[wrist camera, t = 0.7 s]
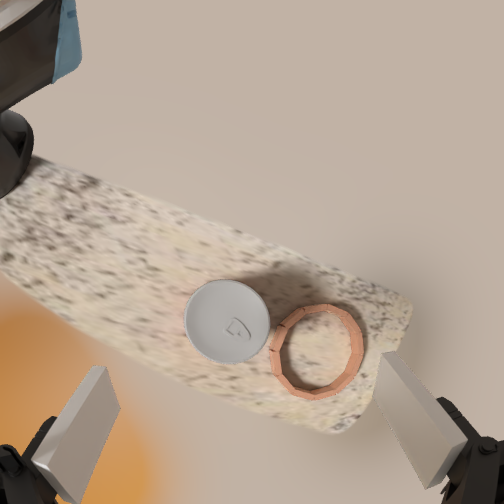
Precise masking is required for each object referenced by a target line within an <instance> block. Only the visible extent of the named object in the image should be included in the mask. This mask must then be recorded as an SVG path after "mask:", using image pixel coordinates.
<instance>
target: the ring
mask: <svg viewBox="0 0 504 504" xmlns="http://www.w3.org/2000/svg"><path fill="white" fill-rule="evenodd" d="M320 311H326V312H328V313H331V314H333V315H336V316H338V317H339V318H340V319H341V320H342V322H343V323H344V325H345V326H346V328H347V329H348V330H349V332H350V337H351V348H352V353H351V356H350V359H349V361H348V364H347V366H346V369H345V371H344V372H343V373H342V374H341V375H340V376H339V377H338V378H337V379H336V380H335V381H334V382H333V383H332V384H330V385H329V386H326V387H323V388H319V389H315V390H311V391H308V390H305V389H301V388H298V387H294V386H292V385H291V384H290V383H289V381H288V380H287V379H286V378H285V377H284V375H283V374H282V369H281V361H280V354H279V351H280V348H281V346H282V343H283V341H284V338H285V336H286V333H287V331H288V329H289V328H290V327H292V326H293V325H294V324H295V323H296V322H297V321H299V320H300V319H301V318H302V317H303V316H304V315H306V314H310V313H315V312H320ZM279 324H280V325H281V326H279V325H278V327H277V329H276V332H275V334H274V337H273V339H272V342H271V344H270V347H269V348H271V349H269V353H270V361H271V368H272V372H273V374H274V376H275V377H276V378H277V379H278V380H279V382H280V383H281V384H282V385H283V386H284V387H285V389H286V390H287V391H288V392H289V393H290V394H292V395H294V396H298V397H302V398H305V399H309V400H319V399H322V398H326V397H329V396H333V395H336V393H339V392H340V391H341V390H342V389H343V388H344V387H345V386H347V385H348V384H349V383H350V382H351V381H352V380H353V379H354V377H353V376H356V374H357V371H358V369H359V366H360V364H361V361H362V358H363V355H361V354H364V349H363V338H362V332H360V331H361V329H360V328H359V326H358V325H357V323H356V322H355V320H354V319H353V318H352V316H351V315H350V313H348V312H347V311H344V310H342V309H339V308H337V307H335V306H332V305H330V304H316V305H311V306H305V307H299V308H297V309H296V310H295V311H294V312H293V313H291V314H290V315H289V316H288V317H287V318H285V319H284V320H283V321H282V322H281V323H279Z"/></svg>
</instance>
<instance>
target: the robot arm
mask: <svg viewBox="0 0 504 504" xmlns="http://www.w3.org/2000/svg"><path fill="white" fill-rule="evenodd" d="M81 59H82V50H81V42H80V35H79V27H78V20H77V15H76V3H75V0H0V198H1V197H3V196H4V195H6V194H7V193H8V192H9V191H10V190H11V189H12V188H13V187H14V186H15V185H16V183H17V182H18V181H19V179H20V178H21V176H22V175H23V173H24V171H25V170H26V168H27V165H28V163H29V161H30V158H31V155H32V151H33V145H34V135H33V130H32V128H31V126H30V125H29V123H28V122H27V121H26V120H25V118H24V117H23V116H21V115H20V114H18V113H16V112H13V111H11V110H8V109H9V108H10V107H12V106H13V105H15V104H16V103H18V102H20V101H21V100H23V99H24V98H26V97H28V96H29V95H31V94H33V93H34V92H36V91H38V90H40V89H41V88H43V87H45V86H47V85H49V84H50V83H51V84H53V83H55V81H56V80H57V79H59V78H61V77H63V76H65V75H66V74H68V73H70V72H72V71H74V70H75V69H76V68H77V67H78V65H79V64H80V62H81ZM372 397H373V398H374V400H375V402H376V403H377V405H378V407H379V408H380V410H381V412H382V414H383V415H384V417H385V419H386V420H387V422H388V424H389V426H390V427H391V429H392V431H393V433H394V434H395V436H396V438H397V440H398V441H399V443H400V445H401V447H402V448H403V450H404V452H405V454H406V455H407V457H408V459H409V461H410V462H411V464H412V466H413V468H414V470H415V472H416V473H417V475H418V477H419V479H420V481H421V482H422V484H423V486H424V488H425V489H428V488H430V487H433V486H435V485H437V484H439V483H441V482H442V481H443V479H444V478H445V476H446V475H447V476H448V477H449V479H450V480H449V482H448V483H447V484H446V486H445V487H444V488H443V490H442V491H441V494H443V493H444V492H445V494H444V497H443V500H442V503H441V504H504V440H503V441H499V442H498V441H497V440H495V439H494V438H491V437H488V436H487V437H481V436H480V435H479V434H478V433H477V431H476V430H475V429H474V428H473V427H472V426H471V424H470V423H469V422H468V421H467V419H466V418H465V417H464V416H462V414H461V412H460V411H458V409H457V408H456V407H455V406H454V404H453V403H452V402H451V401H449V400H447V399H446V398H444V397H441V398H437V399H435V398H434V397H433V395H432V394H431V393H430V392H429V391H428V389H427V388H426V387H425V386H424V385H423V383H422V382H421V381H420V380H419V379H418V377H417V376H416V375H415V374H414V373H413V371H412V370H411V369H410V368H409V367H408V366H407V364H406V363H405V362H404V361H403V360H402V359H401V357H400V356H399V355H398V354H397V353H396V352H395V351H392V352H386V353H381V358H380V363H379V368H378V373H377V378H376V383H375V387H374V392H373V396H372ZM119 411H120V405H119V403H118V400H117V397H116V394H115V392H114V389H113V386H112V383H111V380H110V377H109V374H108V370H107V367H105V366H92V368H91V369H90V370H89V372H88V373H87V375H86V376H85V378H84V379H83V381H82V382H81V384H80V385H79V386H78V388H77V389H76V391H75V392H74V394H73V395H72V397H71V398H70V400H69V401H68V402H67V404H66V405H65V407H64V408H63V410H62V411H61V413H60V415H59V416H58V417H54V416H51V417H50V418H49V419H47V420H46V421H45V422H44V423H43V424H42V426H41V427H40V429H39V431H38V432H37V433H36V435H35V438H33V439H32V441H31V442H30V444H29V445H28V447H27V448H26V450H25V452H24V453H23V455H22V456H20V455H19V453H18V452H17V450H16V449H15V448H14V447H13V446H11V445H8V444H5V445H0V504H58V502H57V501H56V499H55V497H56V495H57V494H58V495H59V496H60V497H61V498H62V499H63V500H64V501H66V502H69V503H72V504H80V503H81V500H82V498H83V495H84V493H85V490H86V488H87V485H88V483H89V480H90V478H91V475H92V473H93V470H94V468H95V465H96V463H97V461H98V459H99V456H100V454H101V451H102V449H103V447H104V445H105V442H106V440H107V438H108V436H109V433H110V431H111V428H112V426H113V424H114V422H115V420H116V418H117V415H118V413H119Z"/></svg>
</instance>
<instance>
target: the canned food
mask: <svg viewBox="0 0 504 504" xmlns="http://www.w3.org/2000/svg"><path fill="white" fill-rule="evenodd" d="M184 328H185V332H186V335H187V337H188V339H189V341H190V343H191V344H192V345H193V347H194V348H195V349H196V350H197V351H198V352H199V353H200V354H201V355H202V356H204V357H206V358H207V359H209V360H211V361H214V362H217V363H222V364H237V363H241V362H244V361H246V360H249V359H251V358H252V357H253V356H255V355H256V354H257V353H258V352H259V351H260V350H261V349H262V348H263V346H264V345H265V343H266V341H267V339H268V336H269V332H270V316H269V312H268V309H267V307H266V305H265V302H264V301H263V300H262V298H261V297H260V295H259V294H258V293H256V292H255V291H254V290H253V289H252V288H250V287H249V286H247V285H245V284H243V283H241V282H238V281H234V280H215V281H211V282H209V283H206V284H204V285H203V286H201V287H200V288H198V289H197V290H196V291H195V292H194V293H193V294H192V295H191V297H190V298H189V300H188V302H187V305H186V307H185V311H184Z"/></svg>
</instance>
